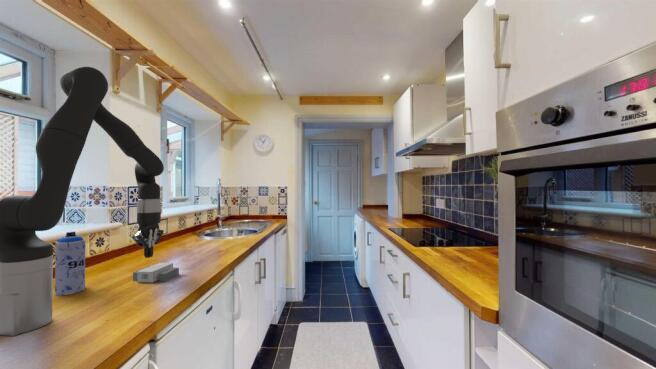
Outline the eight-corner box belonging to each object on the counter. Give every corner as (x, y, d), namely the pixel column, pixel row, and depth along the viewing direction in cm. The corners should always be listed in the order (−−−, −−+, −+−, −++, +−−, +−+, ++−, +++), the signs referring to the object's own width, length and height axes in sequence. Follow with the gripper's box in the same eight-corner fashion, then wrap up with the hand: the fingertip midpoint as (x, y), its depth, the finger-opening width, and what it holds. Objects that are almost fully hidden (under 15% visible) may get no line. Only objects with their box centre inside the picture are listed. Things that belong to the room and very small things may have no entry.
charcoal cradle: (164, 282, 102) (164, 273, 102) (132, 280, 103) (133, 272, 103) (178, 275, 109) (178, 267, 110) (149, 273, 111) (149, 266, 111)
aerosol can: (63, 296, 88) (63, 234, 88) (48, 293, 90) (49, 233, 91) (91, 288, 95) (91, 230, 95) (76, 285, 98) (77, 229, 98)
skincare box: (152, 283, 100) (173, 273, 112) (152, 271, 100) (173, 262, 112) (136, 282, 101) (159, 272, 113) (136, 271, 101) (159, 262, 113)
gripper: (144, 212, 96) (143, 262, 95) (170, 209, 109) (170, 253, 109) (124, 212, 97) (124, 261, 96) (153, 209, 110) (153, 252, 109)
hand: (148, 257), depth 102 cm, fingers closed
